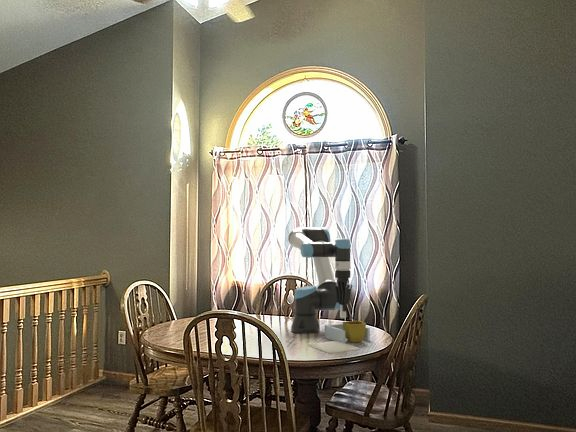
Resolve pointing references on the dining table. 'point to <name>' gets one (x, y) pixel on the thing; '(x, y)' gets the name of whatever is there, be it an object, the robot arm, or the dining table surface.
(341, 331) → the shelf bay
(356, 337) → the flower pot
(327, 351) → the tile
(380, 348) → the dining table surface
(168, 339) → the dining table surface
